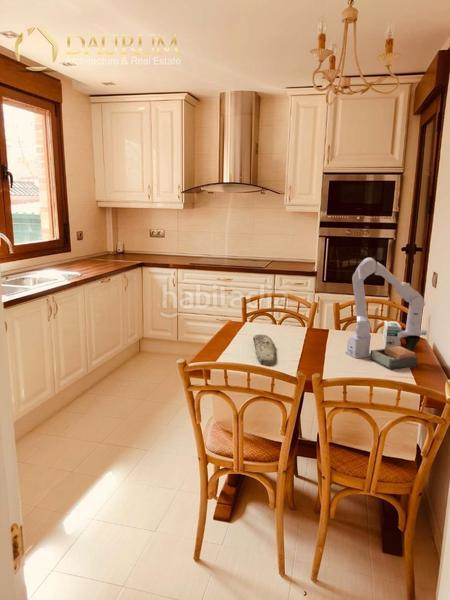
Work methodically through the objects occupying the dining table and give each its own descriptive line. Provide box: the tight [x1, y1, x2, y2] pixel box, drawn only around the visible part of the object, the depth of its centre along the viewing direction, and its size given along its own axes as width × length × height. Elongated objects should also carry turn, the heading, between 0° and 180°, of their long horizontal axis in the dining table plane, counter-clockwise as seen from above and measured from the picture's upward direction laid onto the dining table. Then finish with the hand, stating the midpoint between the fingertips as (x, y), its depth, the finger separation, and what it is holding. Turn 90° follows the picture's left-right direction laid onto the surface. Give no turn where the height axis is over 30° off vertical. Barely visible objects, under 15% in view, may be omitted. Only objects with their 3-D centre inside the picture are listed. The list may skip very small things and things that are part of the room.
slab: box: [384, 345, 416, 359], centre depth 187 cm, size 8×9×2 cm
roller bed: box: [369, 348, 419, 371], centre depth 186 cm, size 14×13×5 cm
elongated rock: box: [252, 333, 277, 366], centre depth 196 cm, size 35×5×10 cm
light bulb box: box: [382, 320, 403, 348], centre depth 211 cm, size 11×7×11 cm, turn 168°
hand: (409, 351), depth 189 cm, fingers closed
